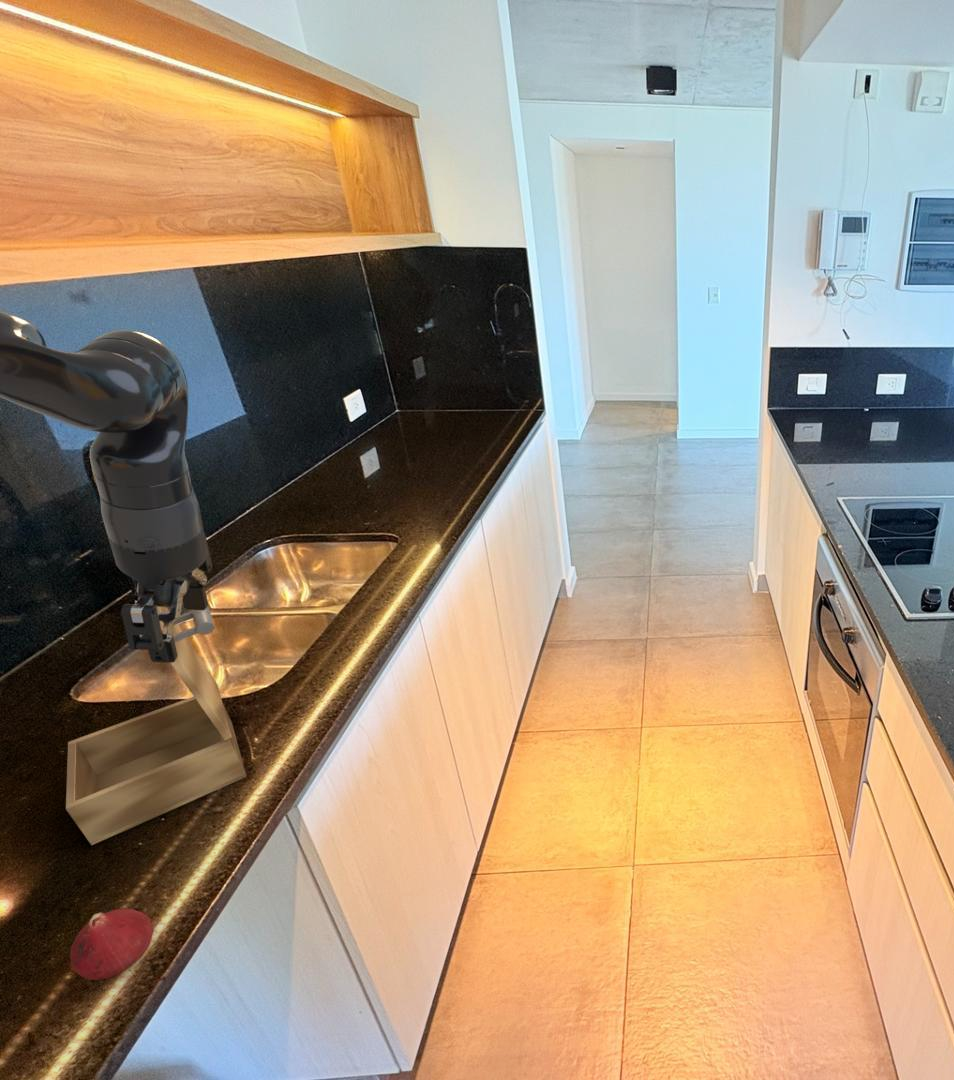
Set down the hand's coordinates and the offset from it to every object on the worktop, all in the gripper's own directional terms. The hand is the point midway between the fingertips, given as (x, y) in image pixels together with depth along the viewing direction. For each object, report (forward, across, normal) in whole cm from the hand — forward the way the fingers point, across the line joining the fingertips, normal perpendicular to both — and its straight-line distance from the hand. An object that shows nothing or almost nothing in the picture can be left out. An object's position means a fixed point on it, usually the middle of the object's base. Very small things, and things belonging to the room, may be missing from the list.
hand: (181, 633), depth 73 cm
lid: (+10, -3, -2) cm, 10 cm away
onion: (+19, +29, +3) cm, 34 cm away
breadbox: (+25, +3, -4) cm, 26 cm away
